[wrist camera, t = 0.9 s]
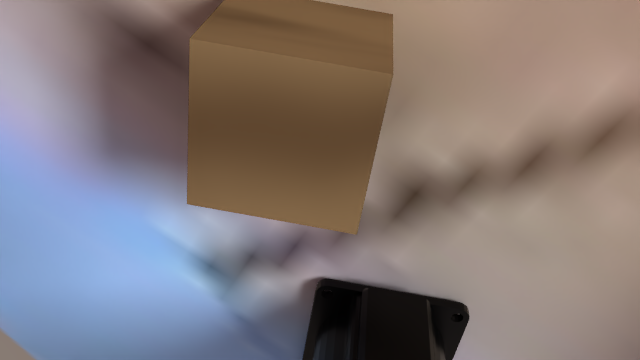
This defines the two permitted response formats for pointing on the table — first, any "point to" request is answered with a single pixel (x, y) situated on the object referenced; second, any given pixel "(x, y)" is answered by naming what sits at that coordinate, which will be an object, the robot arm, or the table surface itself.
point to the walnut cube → (287, 109)
